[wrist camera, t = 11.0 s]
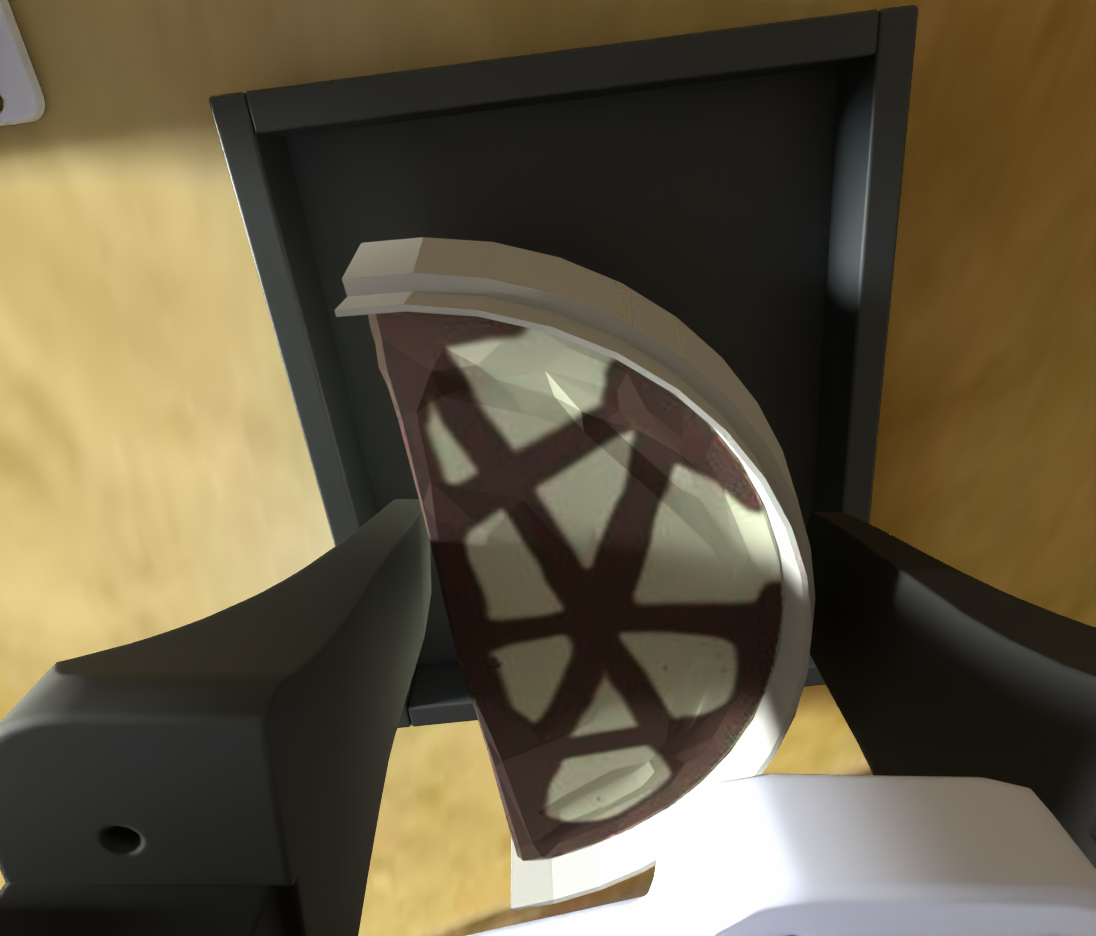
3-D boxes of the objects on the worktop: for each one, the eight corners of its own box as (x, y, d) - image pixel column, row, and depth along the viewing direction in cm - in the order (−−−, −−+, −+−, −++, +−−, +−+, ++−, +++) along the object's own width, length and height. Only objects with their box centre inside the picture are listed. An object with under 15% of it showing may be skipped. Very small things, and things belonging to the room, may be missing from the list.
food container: (713, 580, 22) (845, 888, 13) (522, 609, 22) (516, 929, 13) (682, 160, 17) (865, 168, 7) (433, 205, 17) (319, 264, 8)
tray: (401, 673, 24) (386, 730, 21) (252, 104, 16) (205, 96, 14) (822, 629, 23) (855, 682, 21) (863, 25, 16) (920, 3, 14)
